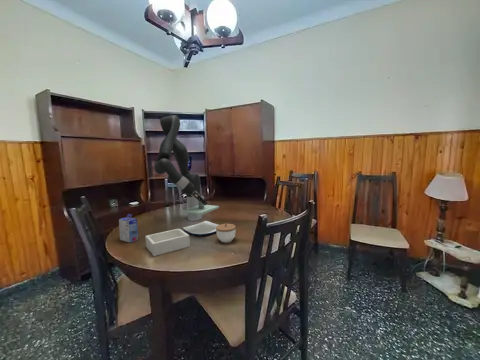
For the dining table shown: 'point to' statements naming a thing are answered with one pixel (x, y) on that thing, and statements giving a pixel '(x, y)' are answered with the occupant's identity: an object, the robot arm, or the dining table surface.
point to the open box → (167, 241)
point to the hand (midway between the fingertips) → (205, 203)
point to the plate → (201, 228)
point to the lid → (200, 208)
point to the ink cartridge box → (128, 229)
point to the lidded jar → (226, 232)
